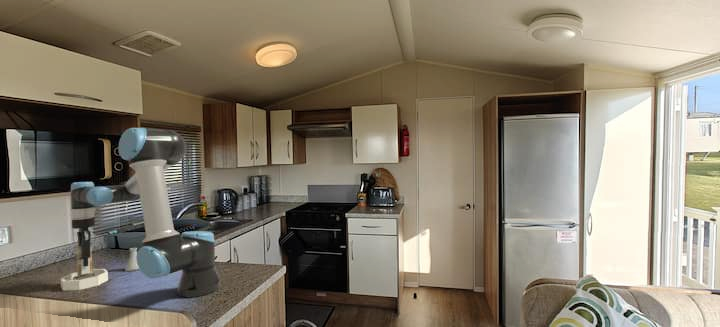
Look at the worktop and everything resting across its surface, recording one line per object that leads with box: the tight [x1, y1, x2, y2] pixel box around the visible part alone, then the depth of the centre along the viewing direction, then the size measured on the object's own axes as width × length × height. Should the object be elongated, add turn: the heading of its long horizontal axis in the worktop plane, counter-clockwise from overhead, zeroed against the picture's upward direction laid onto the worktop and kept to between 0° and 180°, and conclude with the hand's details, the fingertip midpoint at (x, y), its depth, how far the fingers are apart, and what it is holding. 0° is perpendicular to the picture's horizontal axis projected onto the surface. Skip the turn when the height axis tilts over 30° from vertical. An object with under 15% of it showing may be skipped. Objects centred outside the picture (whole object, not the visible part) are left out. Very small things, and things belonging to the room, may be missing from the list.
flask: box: [124, 247, 140, 272], centre depth 155 cm, size 7×7×10 cm
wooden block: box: [76, 243, 93, 279], centre depth 137 cm, size 2×4×14 cm, turn 139°
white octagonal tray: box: [60, 268, 109, 292], centre depth 137 cm, size 15×15×4 cm
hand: (84, 272), depth 137 cm, fingers closed on wooden block, 2 cm apart
